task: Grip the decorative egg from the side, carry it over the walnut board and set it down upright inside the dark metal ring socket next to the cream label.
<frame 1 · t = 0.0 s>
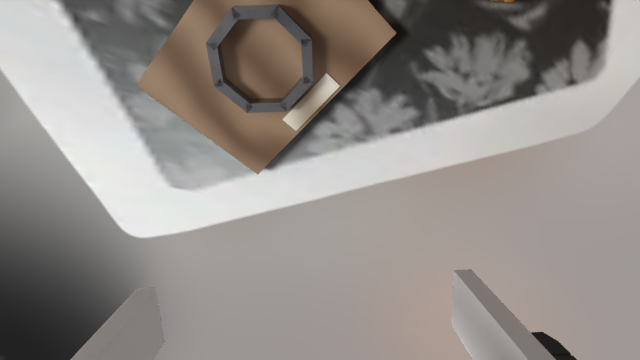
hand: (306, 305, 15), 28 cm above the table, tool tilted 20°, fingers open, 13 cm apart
ring socket: (262, 61, 34), on the walnut board, point 2 cm above the table
walnut board: (264, 56, 36), on the table
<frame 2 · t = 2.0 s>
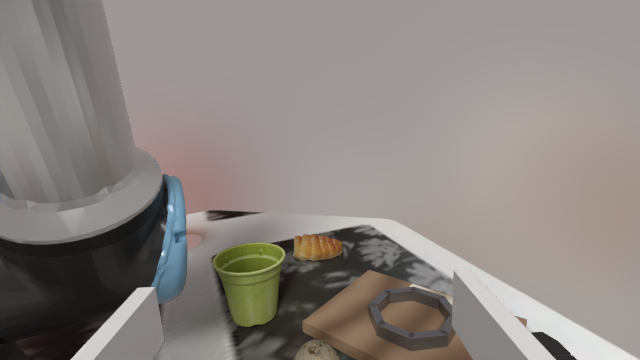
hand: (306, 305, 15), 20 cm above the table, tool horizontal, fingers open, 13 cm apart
ring socket: (412, 315, 42), on the walnut board, point 2 cm above the table
pastry: (314, 255, 66), on the table
walnut board: (412, 331, 43), on the table
plant pot: (255, 315, 48), on the table
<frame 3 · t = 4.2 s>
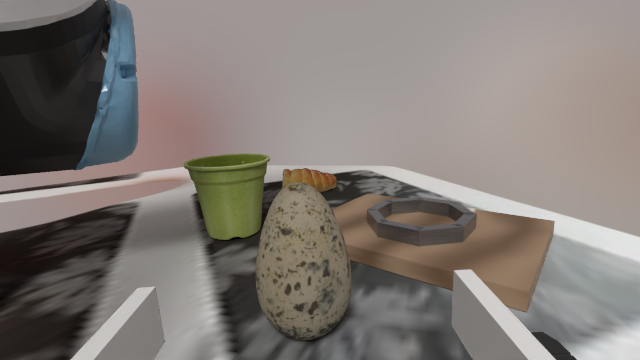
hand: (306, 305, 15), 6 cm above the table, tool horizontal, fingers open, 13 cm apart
ring socket: (419, 218, 36), on the walnut board, point 2 cm above the table
pastry: (305, 191, 59), on the table
walnut board: (419, 238, 36), on the table
decorative egg: (307, 333, 23), on the table
plant pot: (235, 232, 41), on the table
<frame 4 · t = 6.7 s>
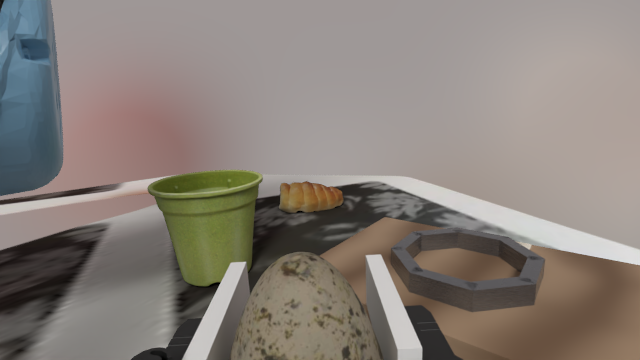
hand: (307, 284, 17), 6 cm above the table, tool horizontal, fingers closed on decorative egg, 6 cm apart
ring socket: (463, 262, 26), on the walnut board, point 2 cm above the table
pastry: (306, 208, 51), on the table
walnut board: (461, 288, 27), on the table
plant pot: (219, 272, 32), on the table
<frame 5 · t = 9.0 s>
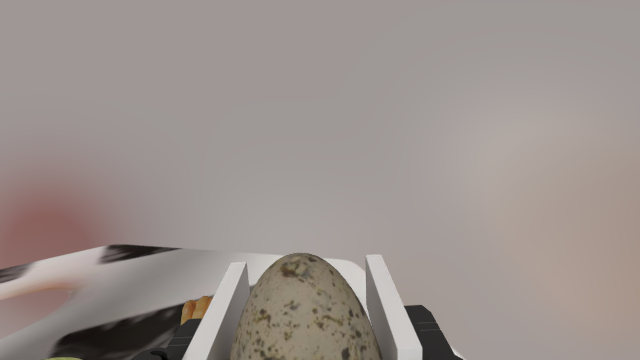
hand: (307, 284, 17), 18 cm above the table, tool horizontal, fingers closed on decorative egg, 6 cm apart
pastry: (217, 328, 43), on the table
when the fingers open (9 cm above the table, at t = 11.7 s): decorative egg drops 1 cm, resting on walnut board.
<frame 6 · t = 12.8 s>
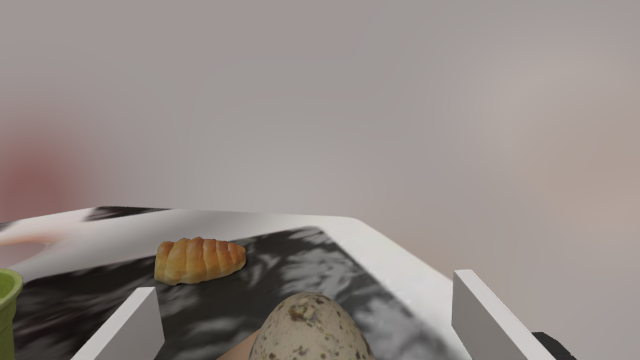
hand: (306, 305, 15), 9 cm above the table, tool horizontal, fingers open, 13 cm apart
pastry: (198, 272, 39), on the table
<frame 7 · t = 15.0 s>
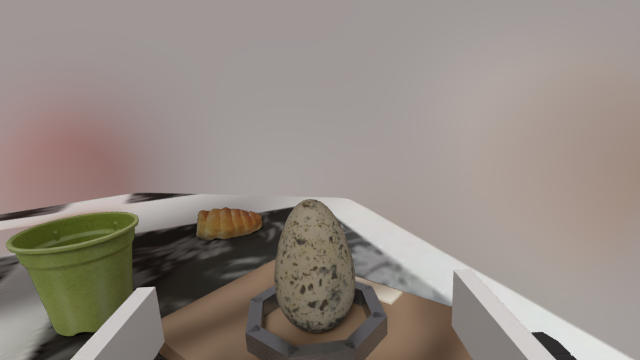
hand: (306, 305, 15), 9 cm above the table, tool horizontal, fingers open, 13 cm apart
ring socket: (315, 315, 26), on the walnut board, point 2 cm above the table
pastry: (226, 233, 52), on the table
walnut board: (316, 341, 27), on the table
decorative egg: (318, 327, 26), point 1 cm above the table, touching walnut board
plant pot: (97, 317, 32), on the table
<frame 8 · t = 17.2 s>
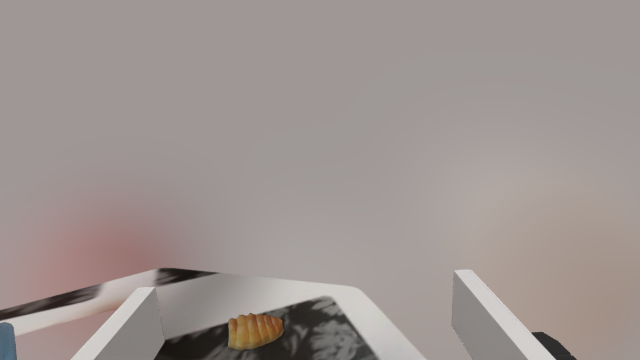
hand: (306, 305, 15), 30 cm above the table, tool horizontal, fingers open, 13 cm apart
pastry: (252, 338, 59), on the table
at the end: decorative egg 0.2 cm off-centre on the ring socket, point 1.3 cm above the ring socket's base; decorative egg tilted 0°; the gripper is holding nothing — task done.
